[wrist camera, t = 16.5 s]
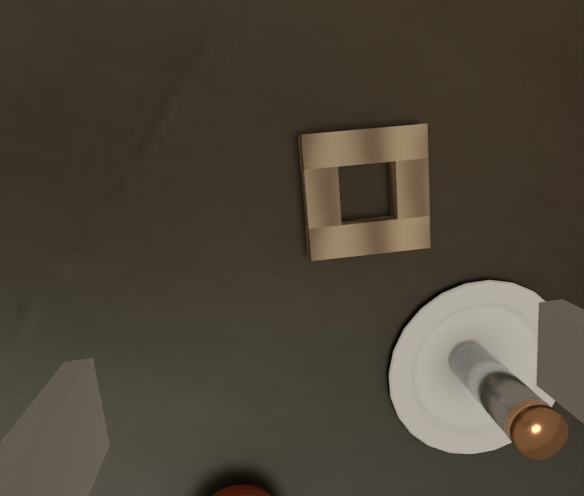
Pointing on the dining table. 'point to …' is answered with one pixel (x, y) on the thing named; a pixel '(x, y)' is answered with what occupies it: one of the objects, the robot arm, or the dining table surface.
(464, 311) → the plate
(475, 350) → the clear jar
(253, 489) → the tomato
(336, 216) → the socket block
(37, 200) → the dining table surface
